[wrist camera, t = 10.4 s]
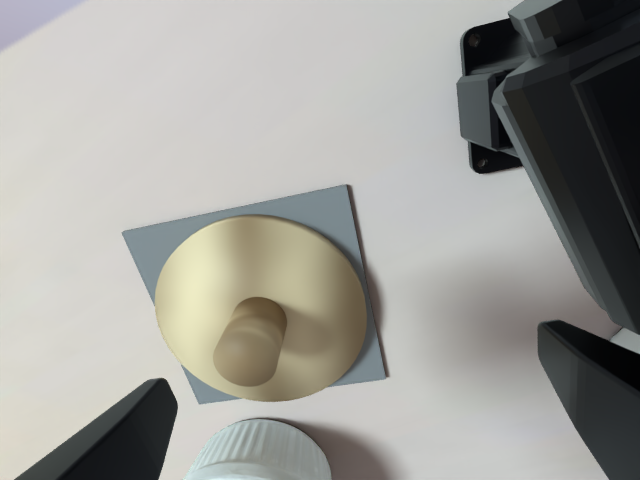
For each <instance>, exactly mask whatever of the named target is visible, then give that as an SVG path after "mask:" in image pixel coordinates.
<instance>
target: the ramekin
mask: <svg viewBox="0 0 640 480" xmlns="http://www.w3.org/2000/svg"><path fill="white" fill-rule="evenodd" d="M182 480H332V478H331V470H330V467H329V463H328V460H327V459H326V456H325V454H324V453H323V452H322V450H321V449H320V447H319V446H318V445H317V444H316V443H315V442H314V441H313V440H312V439H311V438H310V437H309V436H308V435H306V434H305V433H304V432H302V431H301V430H299V429H297V428H295V427H293V426H291V425H288V424H286V423H283V422H279V421H274V420H267V419H251V420H245V421H241V422H237V423H234V424H232V425H230V426H228V427H226V428H224V429H222V430H220V431H219V432H217V433H216V434H214V435H213V437H211V438H210V439H209V441H208V442H207V443H206V445H205V446H204V447H203V449H202V450H201V452H200V454H199V455H198V457H197V458H196V460H195V461H194V463H193V465H192V466H191V468H190V469H189V471H188V473H187V474H186V476H185V478H184V479H182Z"/></svg>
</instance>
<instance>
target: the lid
mask: <svg viewBox="0 0 640 480" xmlns="http://www.w3.org/2000/svg"><path fill="white" fill-rule="evenodd" d="M155 312H156V318H157V322H158V326H159V329H160V331H161V334H162V336H163V338H164V340H165V342H166V344H167V346H168V348H169V349H170V350H171V352H172V353H173V355H174V356H175V357H176V359H177V360H178V361H179V362H180V363H181V364H182V365H183V366H184V367H185V368H186V369H187V370H188V371H189V372H191V373H192V374H193V375H194V376H196V377H197V378H198V379H200V380H201V381H203V382H204V383H206V384H208V385H209V386H211V387H213V388H215V389H217V390H219V391H222V392H224V393H226V394H229V395H233V396H236V397H239V398H243V399H248V400H254V401H263V402H278V401H289V400H294V399H299V398H302V397H306V396H309V395H312V394H314V393H316V392H319V391H321V390H323V389H324V388H326V387H328V386H329V385H331V384H333V383H334V382H335V381H336V380H338V379H339V378H340V377H341V376H342V375H343V374H344V373H345V372H346V371H347V370H348V369H349V368H350V367H351V365H352V364H353V362H354V361H355V360H356V358H357V356H358V354H359V352H360V350H361V347H362V345H363V342H364V339H365V333H366V327H367V313H366V304H365V297H364V292H363V289H362V285H361V282H360V280H359V278H358V276H357V273H356V271H355V269H354V268H353V266H352V265H351V263H350V262H349V260H348V259H347V258H346V256H345V255H344V254H343V253H342V252H341V251H340V249H339V248H337V247H336V246H335V245H334V244H333V243H332V242H331V241H330V240H329V239H327V238H326V237H324V236H323V235H321V234H320V233H318V232H317V231H315V230H313V229H311V228H309V227H307V226H305V225H304V224H301V223H298V222H296V221H293V220H290V219H286V218H282V217H278V216H272V215H263V214H244V215H238V216H231V217H227V218H224V219H220V220H217V221H215V222H213V223H210V224H208V225H206V226H204V227H202V228H201V229H199V230H198V231H196V232H195V233H193V234H192V235H191V236H190V237H189V238H187V239H186V240H185V241H184V242H183V243H182V244H181V245H180V246H179V247H178V248H177V249H176V250H175V251H174V252H173V253H172V255H171V256H170V257H169V258H168V260H167V262H166V263H165V265H164V267H163V268H162V271H161V273H160V276H159V278H158V282H157V286H156V291H155Z"/></svg>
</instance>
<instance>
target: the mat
mask: <svg viewBox="0 0 640 480" xmlns="http://www.w3.org/2000/svg"><path fill="white" fill-rule="evenodd" d="M244 214H263V215H272V216H278V217H282V218H286V219H290V220H293V221H296V222H298V223H301V224H304V225H305V226H307V227H309V228H311V229H313V230H315V231H317V232H318V233H320V234H321V235H323V236H324V237H326V238H327V239H329V240H330V241H331V242H332V243H333V244H334V245H335V246H336V247H337V248H339V249H340V251H341V252H342V253H343V254H344V255H345V256H346V258H347V259H348V260H349V262H350V263H351V265H352V266H353V268H354V269H355V271H356V273H357V276H358V278H359V280H360V282H361V285H362V289H363V292H364V297H365V304H366V313H367V327H366V333H365V339H364V342H363V345H362V347H361V350H360V352H359V354H358V356H357V358H356V360H355V361H354V362H353V364H352V365H351V367H350V368H349V369H348V370H347V371H346V372H345V373H344V374H343V375H342V376H341V377H340V378H339V379H338V380H336V381H335V382H334V383H333V384H331V385H329V386H328V387H332V386H339V385H347V384H354V383H362V382H369V381H376V380H384V379H386V377H385V372H384V367H383V362H382V357H381V352H380V347H379V342H378V337H377V332H376V328H375V323H374V318H373V313H372V308H371V303H370V298H369V293H368V288H367V283H366V279H365V274H364V269H363V264H362V259H361V254H360V249H359V244H358V239H357V235H356V230H355V225H354V220H353V215H352V210H351V205H350V200H349V195H348V190H347V186H346V185H341V186H336V187H331V188H327V189H322V190H317V191H312V192H308V193H303V194H298V195H293V196H288V197H284V198H279V199H274V200H269V201H265V202H260V203H255V204H250V205H246V206H241V207H236V208H231V209H226V210H222V211H217V212H212V213H207V214H203V215H198V216H193V217H188V218H184V219H179V220H174V221H169V222H165V223H160V224H155V225H150V226H145V227H141V228H136V229H131V230H126V231H124V232H122V235H123V237H124V239H125V242H126V244H127V246H128V248H129V250H130V253H131V255H132V257H133V259H134V262H135V264H136V266H137V268H138V270H139V273H140V275H141V277H142V279H143V281H144V284H145V286H146V288H147V290H148V293H149V295H150V297H151V299H152V301H153V304H154V306H155V291H156V286H157V282H158V278H159V276H160V273H161V271H162V268H163V267H164V265H165V263H166V262H167V260H168V258H169V257H170V256H171V255H172V253H173V252H174V251H175V250H176V249H177V248H178V247H179V246H180V245H181V244H182V243H183V242H184V241H185V240H186V239H187V238H189V237H190V236H191V235H192V234H193V233H195V232H196V231H198V230H199V229H201V228H202V227H204V226H206V225H208V224H210V223H213V222H215V221H217V220H220V219H224V218H227V217H231V216H238V215H244ZM181 366H182V368H183V370H184V372H185V374H186V377H187V379H188V381H189V383H190V385H191V388H192V390H193V392H194V394H195V397H196V399H197V401H198V403H199V404H206V403H213V402H220V401H228V400H235V399H243V398H239V397H236V396H233V395H229V394H226V393H224V392H222V391H219V390H217V389H215V388H213V387H211V386H209V385H208V384H206V383H204V382H203V381H201V380H200V379H198V378H197V377H196V376H194V375H193V374H192V373H191V372H189V371H188V370H187V369H186V368H185V367H184V366H183V365H182V364H181Z"/></svg>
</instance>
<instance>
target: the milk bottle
mask: <svg viewBox="0 0 640 480" xmlns="http://www.w3.org/2000/svg"><path fill="white" fill-rule="evenodd" d="M610 342H613V343H615V344H617V345H620V346H622V347H624V348H627V349H629V350H631V351H634V352H636V353H638V354H640V335H638V334H636V333H634V332H632V331H630V330H628V329H626V328H622V329H621V330H620V331H619V332H618V333H617V334H616V335H614V336H613V337H612V339H611V340H610Z"/></svg>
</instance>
